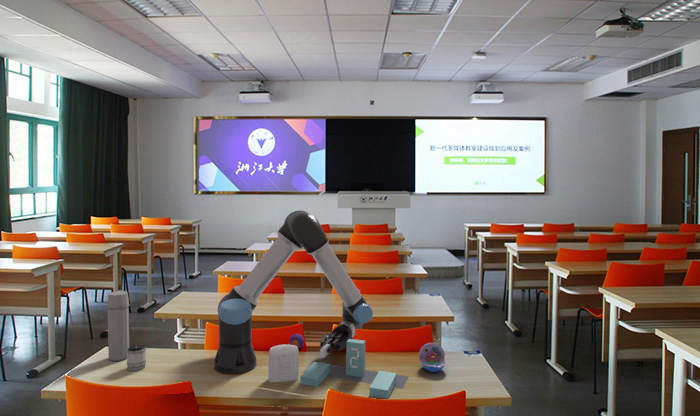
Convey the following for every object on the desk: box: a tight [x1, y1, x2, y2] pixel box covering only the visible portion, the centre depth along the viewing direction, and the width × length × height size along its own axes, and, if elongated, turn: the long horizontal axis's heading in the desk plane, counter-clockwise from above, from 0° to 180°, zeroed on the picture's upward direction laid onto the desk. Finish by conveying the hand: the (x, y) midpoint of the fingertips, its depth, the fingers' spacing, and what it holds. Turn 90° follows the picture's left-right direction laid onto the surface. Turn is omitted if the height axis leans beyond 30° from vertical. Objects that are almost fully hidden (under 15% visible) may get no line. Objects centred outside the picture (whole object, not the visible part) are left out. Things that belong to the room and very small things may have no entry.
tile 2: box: [345, 338, 366, 377], centre depth 167 cm, size 6×3×12 cm, turn 72°
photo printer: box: [267, 343, 300, 383], centre depth 163 cm, size 10×4×12 cm, turn 103°
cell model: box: [418, 342, 447, 373], centre depth 173 cm, size 10×12×10 cm
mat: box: [302, 361, 410, 389], centre depth 168 cm, size 36×10×1 cm, turn 72°
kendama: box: [288, 333, 305, 350], centre depth 187 cm, size 6×6×20 cm
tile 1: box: [299, 361, 331, 388], centre depth 164 cm, size 6×3×12 cm
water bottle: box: [106, 290, 131, 362], centre depth 181 cm, size 9×8×25 cm
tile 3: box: [369, 370, 398, 399], centre depth 157 cm, size 6×3×12 cm
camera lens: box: [126, 344, 147, 372], centre depth 172 cm, size 6×6×8 cm
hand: (321, 353), depth 169 cm, fingers closed
